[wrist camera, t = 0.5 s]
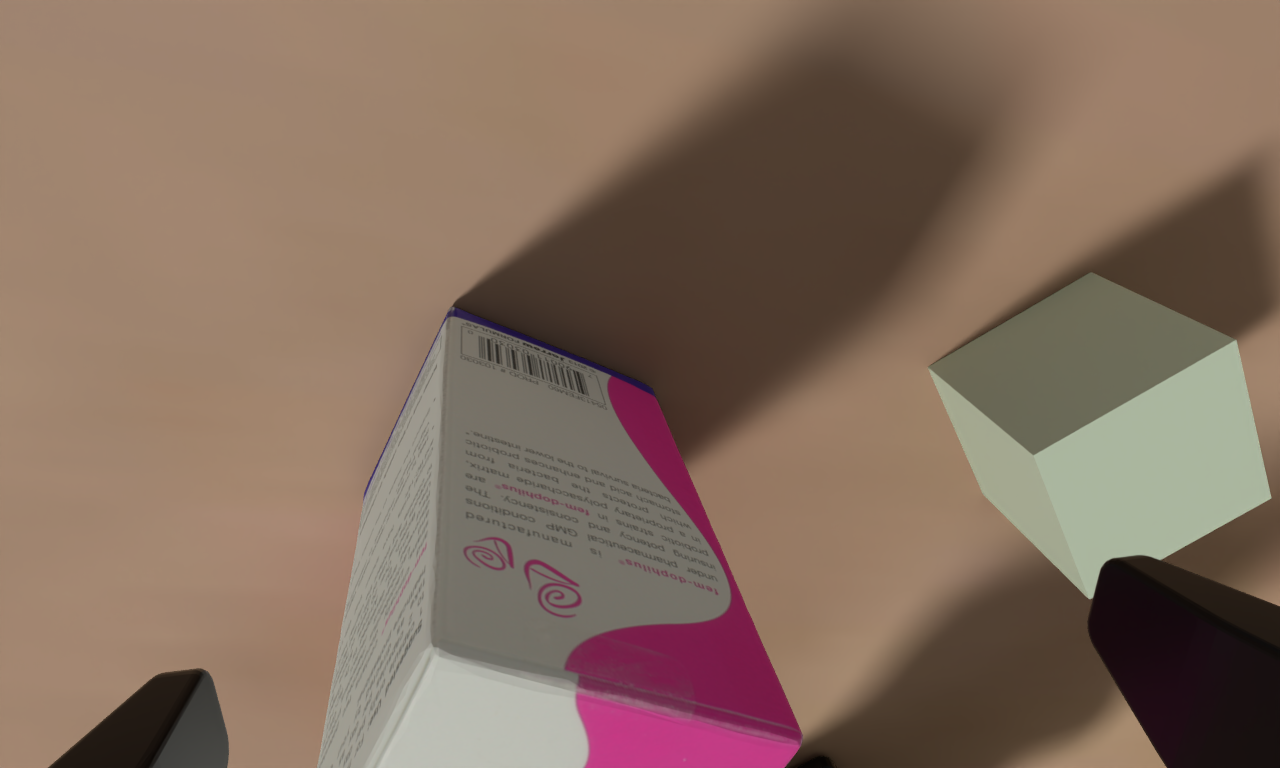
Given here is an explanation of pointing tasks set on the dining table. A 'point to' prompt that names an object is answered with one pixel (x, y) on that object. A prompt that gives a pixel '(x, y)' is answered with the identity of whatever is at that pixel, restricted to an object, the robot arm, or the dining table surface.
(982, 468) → the sage cube
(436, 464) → the supplement box
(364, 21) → the dining table surface
